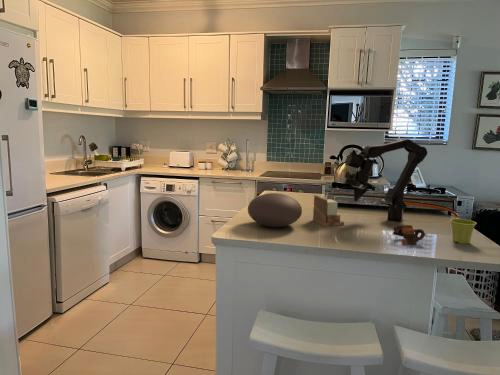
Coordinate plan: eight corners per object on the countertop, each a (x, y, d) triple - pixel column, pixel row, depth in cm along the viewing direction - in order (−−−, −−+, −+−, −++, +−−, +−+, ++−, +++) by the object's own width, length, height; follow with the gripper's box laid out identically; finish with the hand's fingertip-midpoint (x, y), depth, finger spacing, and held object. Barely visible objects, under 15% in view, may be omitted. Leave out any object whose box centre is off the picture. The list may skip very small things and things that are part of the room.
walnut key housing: (332, 219, 189) (334, 194, 187) (343, 225, 177) (345, 199, 175) (312, 219, 186) (314, 195, 184) (323, 226, 175) (324, 199, 173)
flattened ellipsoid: (291, 235, 158) (292, 201, 155) (238, 228, 168) (238, 195, 165) (307, 223, 180) (309, 192, 177) (259, 216, 190) (260, 187, 188)
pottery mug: (394, 246, 149) (390, 225, 152) (395, 250, 157) (392, 231, 160) (427, 242, 145) (423, 221, 148) (427, 246, 153) (422, 226, 156)
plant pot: (452, 244, 151) (454, 223, 150) (444, 237, 161) (447, 218, 159) (477, 246, 150) (480, 225, 148) (468, 239, 159) (471, 219, 158)
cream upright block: (330, 216, 186) (331, 199, 184) (337, 220, 179) (338, 202, 177) (320, 217, 184) (321, 199, 183) (326, 220, 178) (327, 202, 176)
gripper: (361, 170, 196) (352, 198, 198) (340, 164, 183) (331, 194, 185) (380, 175, 188) (370, 204, 189) (360, 169, 175) (350, 201, 177)
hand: (355, 201), depth 185 cm, fingers closed
